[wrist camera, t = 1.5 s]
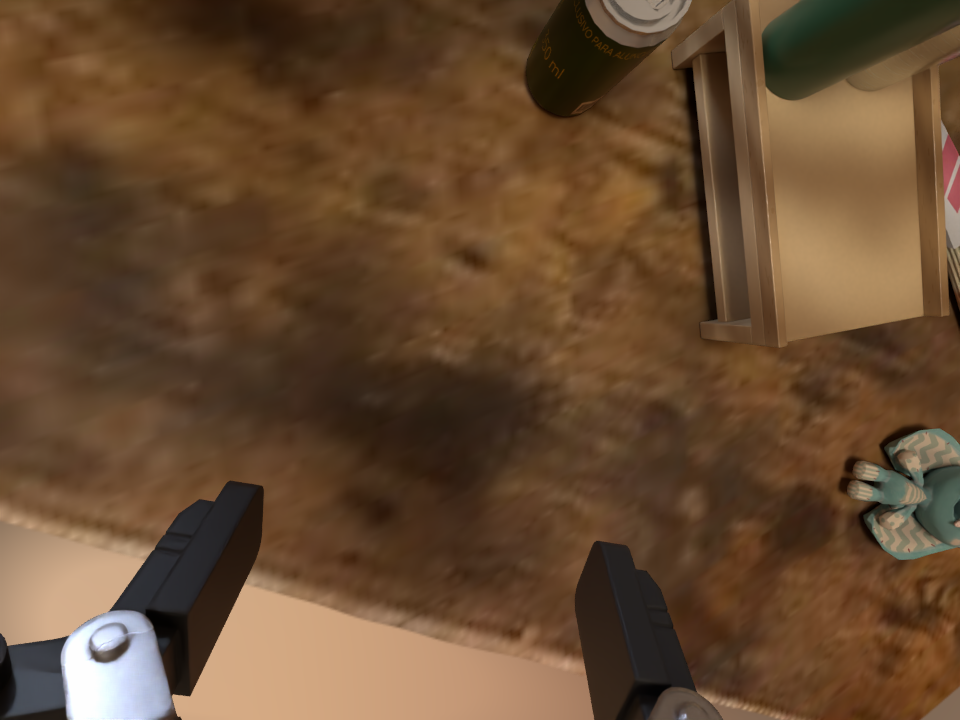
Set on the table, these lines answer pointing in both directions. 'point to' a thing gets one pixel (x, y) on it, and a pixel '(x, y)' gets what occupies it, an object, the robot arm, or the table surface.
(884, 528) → the stuffed animal
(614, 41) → the beer can
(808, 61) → the tray
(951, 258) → the paintbrush
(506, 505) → the table surface
